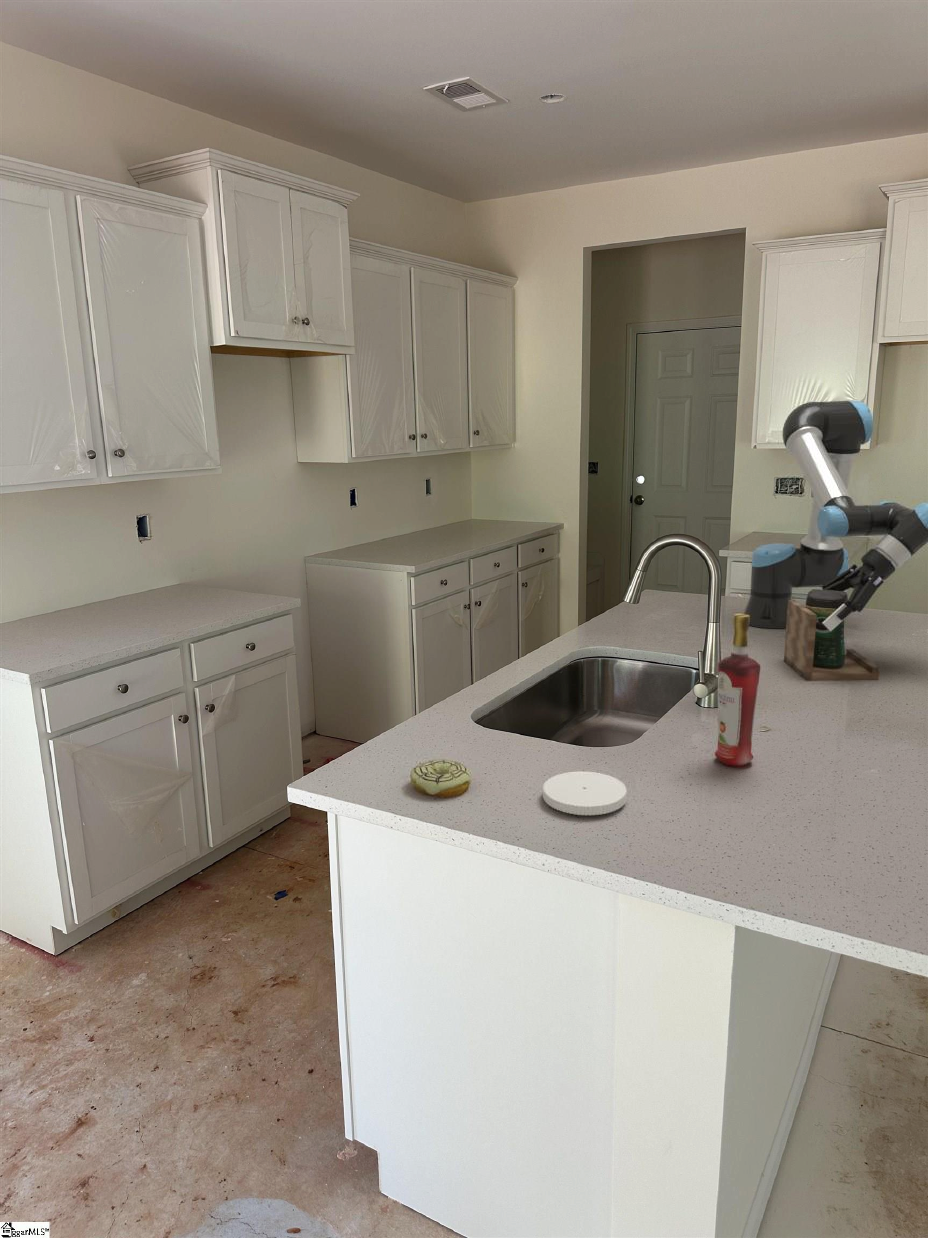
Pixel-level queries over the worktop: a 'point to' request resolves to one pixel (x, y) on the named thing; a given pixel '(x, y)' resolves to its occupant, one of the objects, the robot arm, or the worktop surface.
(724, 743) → the liquor
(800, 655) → the wooden board stand
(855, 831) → the worktop surface
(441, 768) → the decorated donut
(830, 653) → the coffee jar
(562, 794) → the plastic lid
